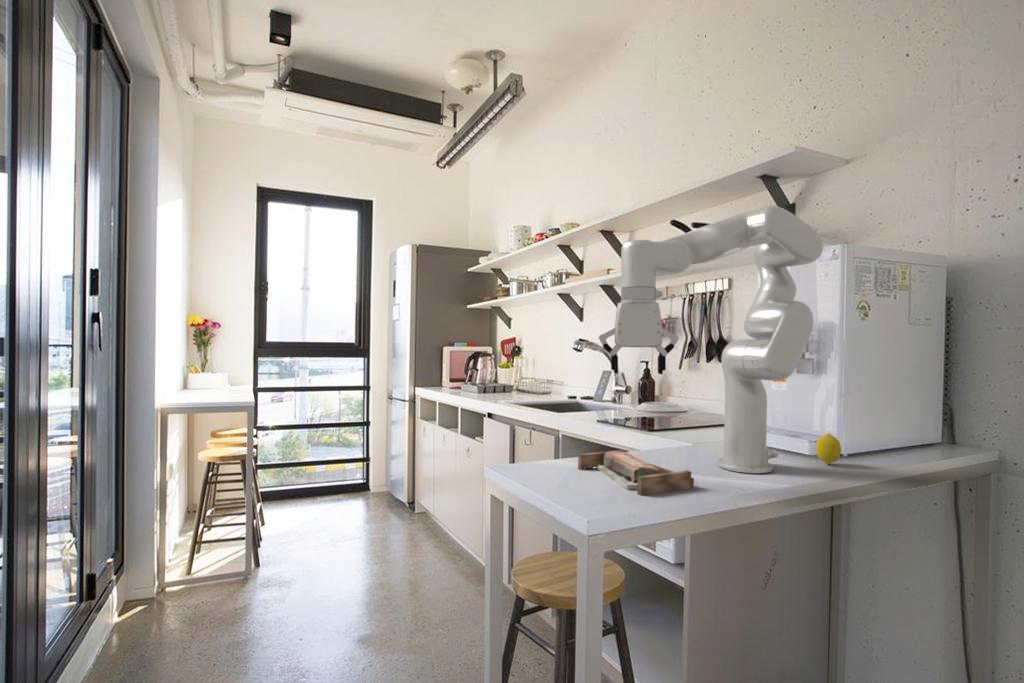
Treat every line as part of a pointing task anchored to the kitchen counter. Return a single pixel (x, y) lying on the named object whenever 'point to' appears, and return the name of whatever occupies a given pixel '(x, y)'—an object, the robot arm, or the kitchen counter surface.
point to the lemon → (828, 449)
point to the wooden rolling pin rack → (648, 482)
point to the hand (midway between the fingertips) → (637, 373)
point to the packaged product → (625, 469)
